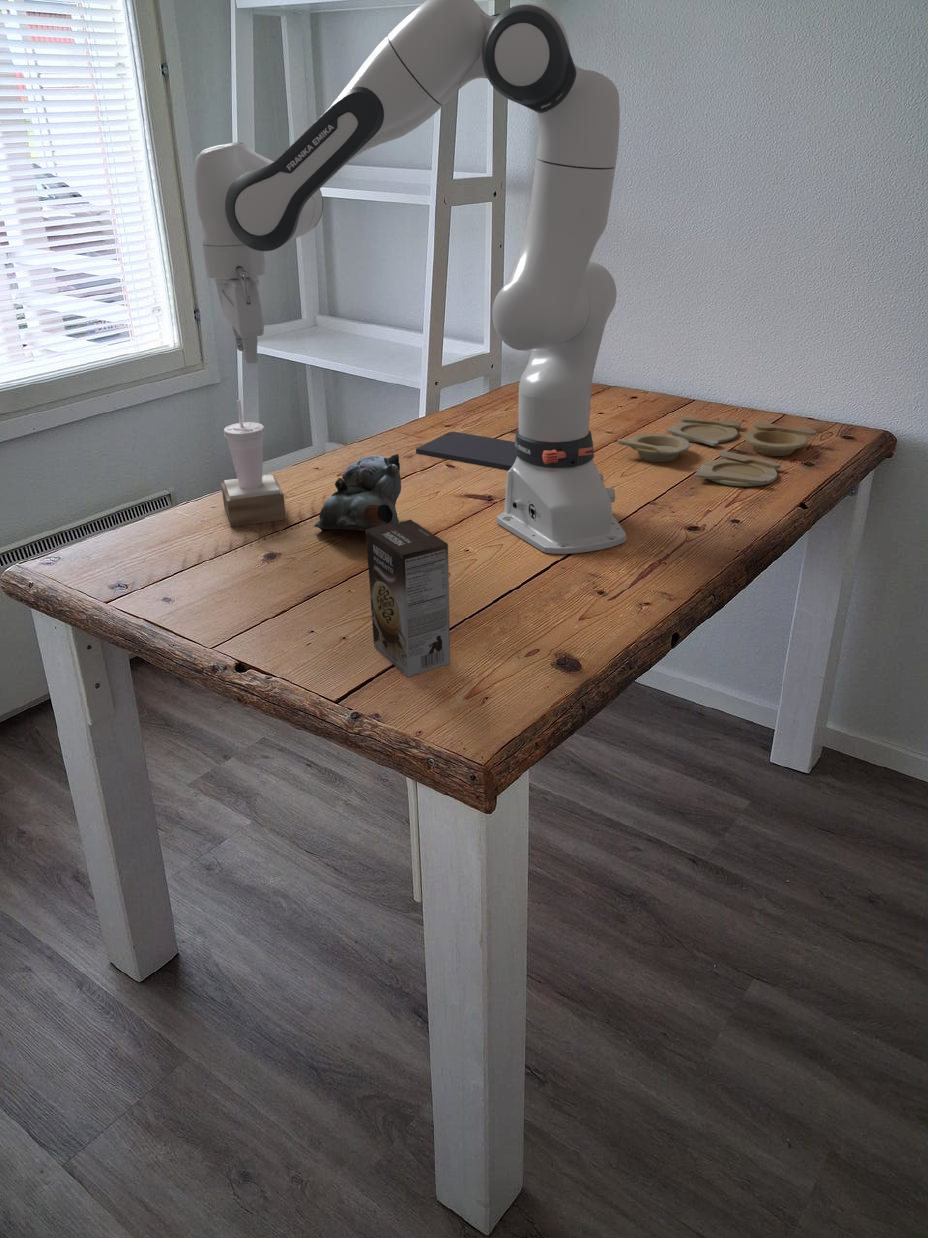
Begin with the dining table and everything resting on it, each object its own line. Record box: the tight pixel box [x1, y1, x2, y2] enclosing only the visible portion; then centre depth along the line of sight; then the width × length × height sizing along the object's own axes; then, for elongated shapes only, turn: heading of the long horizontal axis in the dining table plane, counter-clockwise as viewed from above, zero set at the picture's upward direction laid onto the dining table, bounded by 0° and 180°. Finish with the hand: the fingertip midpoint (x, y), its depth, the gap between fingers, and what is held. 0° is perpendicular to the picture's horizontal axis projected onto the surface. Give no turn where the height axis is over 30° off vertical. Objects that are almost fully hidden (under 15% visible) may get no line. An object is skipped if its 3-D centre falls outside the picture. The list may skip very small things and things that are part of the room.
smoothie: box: [223, 399, 266, 489], centre depth 161 cm, size 6×6×14 cm
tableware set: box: [617, 416, 817, 487], centre depth 189 cm, size 35×29×4 cm
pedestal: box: [220, 474, 287, 528], centre depth 166 cm, size 9×9×5 cm
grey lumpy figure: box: [312, 453, 402, 531], centre depth 158 cm, size 15×12×14 cm
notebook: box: [415, 431, 517, 472], centre depth 193 cm, size 13×2×21 cm
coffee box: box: [365, 519, 451, 678], centre depth 120 cm, size 9×6×16 cm
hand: (247, 355), depth 156 cm, fingers open, 8 cm apart
